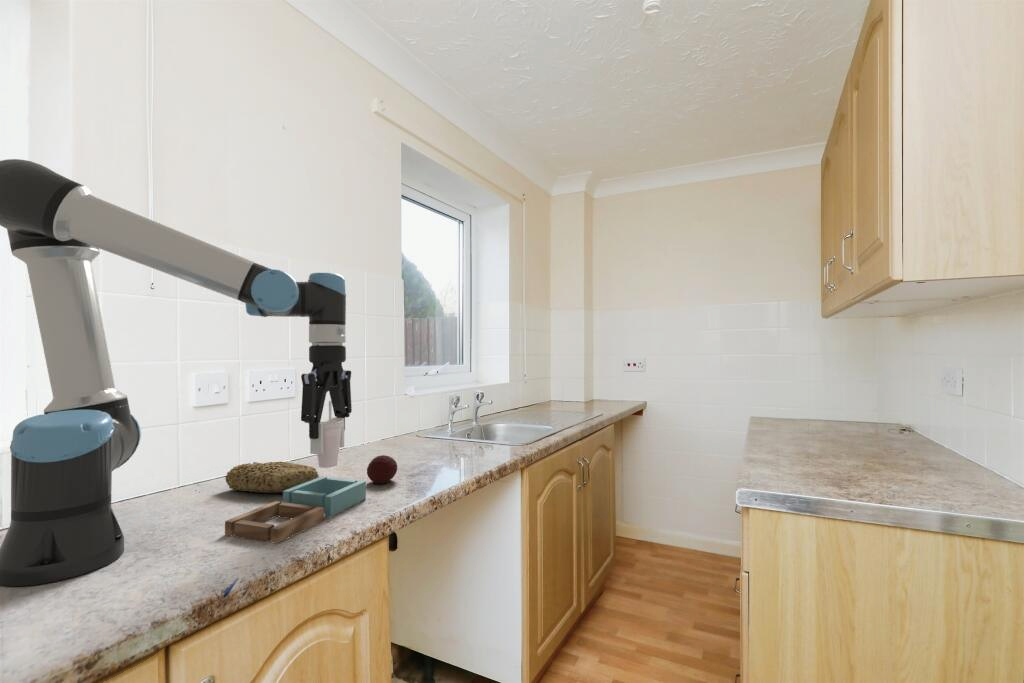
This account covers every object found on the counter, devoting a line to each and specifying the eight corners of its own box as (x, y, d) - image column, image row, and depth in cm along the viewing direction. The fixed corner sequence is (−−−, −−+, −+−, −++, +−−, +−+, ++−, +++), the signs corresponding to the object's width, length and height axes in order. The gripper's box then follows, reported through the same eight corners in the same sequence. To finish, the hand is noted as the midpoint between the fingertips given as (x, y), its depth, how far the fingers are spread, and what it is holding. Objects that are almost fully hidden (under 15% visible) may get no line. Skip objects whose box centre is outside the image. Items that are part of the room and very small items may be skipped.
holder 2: (330, 516, 98) (330, 496, 98) (282, 510, 102) (283, 491, 102) (365, 498, 109) (365, 481, 109) (321, 493, 113) (321, 476, 113)
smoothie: (349, 464, 107) (349, 400, 107) (324, 470, 101) (324, 404, 101) (331, 460, 110) (330, 399, 110) (305, 466, 105) (305, 402, 105)
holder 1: (277, 543, 85) (277, 529, 85) (224, 534, 88) (225, 521, 88) (324, 520, 96) (324, 507, 96) (275, 513, 100) (275, 501, 100)
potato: (401, 478, 127) (401, 451, 127) (391, 487, 118) (391, 458, 119) (374, 477, 127) (374, 450, 128) (362, 486, 119) (362, 458, 119)
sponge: (219, 499, 112) (282, 492, 105) (220, 465, 114) (282, 455, 107) (267, 494, 124) (327, 487, 117) (268, 463, 126) (327, 454, 119)
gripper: (311, 344, 95) (311, 461, 95) (368, 344, 114) (368, 442, 114) (280, 344, 98) (280, 459, 98) (341, 344, 116) (341, 440, 116)
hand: (327, 449), depth 106 cm, fingers closed on smoothie, 6 cm apart
